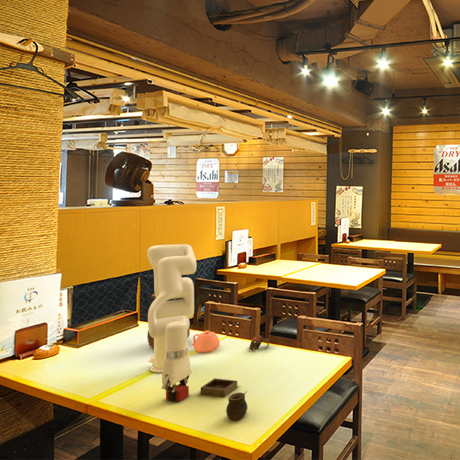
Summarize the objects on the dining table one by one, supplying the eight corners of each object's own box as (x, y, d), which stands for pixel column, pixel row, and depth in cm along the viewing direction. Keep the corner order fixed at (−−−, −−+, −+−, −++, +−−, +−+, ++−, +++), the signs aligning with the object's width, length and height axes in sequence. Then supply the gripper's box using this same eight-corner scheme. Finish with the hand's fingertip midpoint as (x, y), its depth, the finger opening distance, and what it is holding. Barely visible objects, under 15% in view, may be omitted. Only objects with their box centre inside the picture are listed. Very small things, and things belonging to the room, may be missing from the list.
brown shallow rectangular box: (200, 394, 150) (200, 387, 150) (214, 384, 158) (214, 378, 158) (224, 397, 148) (224, 390, 148) (237, 387, 156) (237, 380, 156)
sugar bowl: (212, 354, 190) (212, 335, 190) (185, 353, 191) (185, 334, 190) (224, 345, 203) (223, 327, 202) (199, 345, 203) (198, 327, 202)
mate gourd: (230, 411, 138) (230, 385, 137) (251, 411, 138) (251, 385, 137) (222, 422, 130) (222, 395, 130) (244, 422, 131) (244, 395, 130)
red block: (165, 399, 145) (165, 389, 145) (174, 393, 149) (174, 384, 149) (180, 401, 144) (180, 391, 143) (188, 395, 148) (188, 386, 148)
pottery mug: (249, 346, 203) (257, 332, 205) (265, 354, 204) (272, 339, 206) (245, 349, 191) (253, 334, 193) (261, 356, 192) (269, 341, 194)
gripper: (184, 344, 154) (185, 386, 155) (150, 360, 138) (151, 407, 139) (200, 345, 153) (200, 387, 154) (168, 362, 136) (169, 409, 138)
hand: (177, 396), depth 146 cm, fingers closed on red block, 4 cm apart
